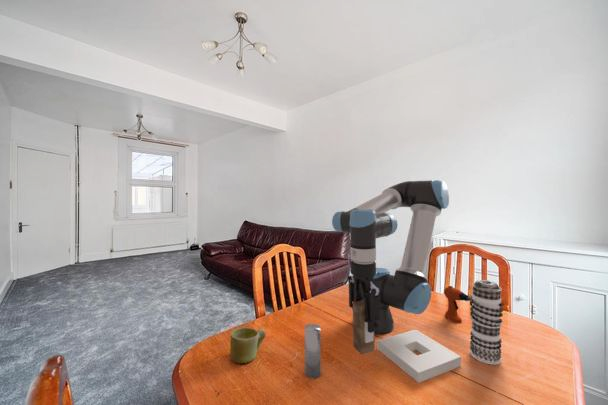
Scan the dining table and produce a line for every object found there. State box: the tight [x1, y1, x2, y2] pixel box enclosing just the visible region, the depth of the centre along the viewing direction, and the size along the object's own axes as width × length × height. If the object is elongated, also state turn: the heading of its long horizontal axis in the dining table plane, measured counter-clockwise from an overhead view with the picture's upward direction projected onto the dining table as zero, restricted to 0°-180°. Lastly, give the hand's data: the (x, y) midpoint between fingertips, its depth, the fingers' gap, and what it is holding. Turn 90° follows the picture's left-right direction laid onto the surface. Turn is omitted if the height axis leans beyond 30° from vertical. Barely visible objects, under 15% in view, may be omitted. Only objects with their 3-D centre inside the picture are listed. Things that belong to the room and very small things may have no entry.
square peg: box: [352, 300, 375, 356], centre depth 78 cm, size 4×4×14 cm
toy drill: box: [443, 285, 473, 324], centre depth 107 cm, size 5×18×14 cm, turn 8°
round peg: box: [304, 323, 322, 379], centre depth 78 cm, size 5×5×14 cm
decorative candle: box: [469, 279, 505, 366], centre depth 86 cm, size 9×9×25 cm
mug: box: [229, 327, 266, 364], centre depth 87 cm, size 12×10×10 cm
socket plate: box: [376, 329, 462, 383], centre depth 86 cm, size 18×18×3 cm
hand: (363, 336), depth 78 cm, fingers closed on square peg, 4 cm apart
